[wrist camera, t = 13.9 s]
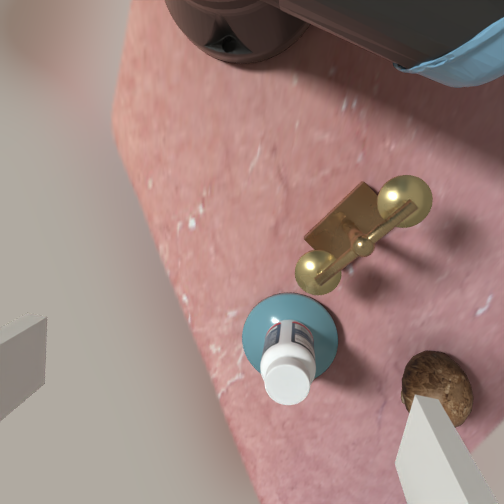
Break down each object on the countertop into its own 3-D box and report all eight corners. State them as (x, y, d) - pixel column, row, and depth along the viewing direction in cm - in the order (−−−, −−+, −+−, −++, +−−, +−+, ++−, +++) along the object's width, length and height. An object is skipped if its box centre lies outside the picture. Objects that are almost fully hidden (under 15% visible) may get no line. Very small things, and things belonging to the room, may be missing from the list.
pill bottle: (268, 364, 43) (259, 413, 35) (262, 320, 42) (252, 359, 34) (316, 361, 43) (319, 411, 34) (311, 316, 42) (314, 356, 33)
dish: (225, 323, 44) (223, 327, 43) (302, 273, 42) (302, 277, 41) (278, 393, 45) (277, 399, 44) (355, 349, 43) (357, 354, 42)
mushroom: (388, 433, 41) (433, 446, 35) (373, 355, 43) (414, 356, 37) (445, 417, 44) (495, 427, 38) (429, 345, 45) (475, 345, 40)
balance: (381, 163, 38) (415, 161, 27) (411, 194, 39) (459, 207, 27) (287, 252, 42) (280, 287, 30) (316, 281, 42) (321, 326, 30)
